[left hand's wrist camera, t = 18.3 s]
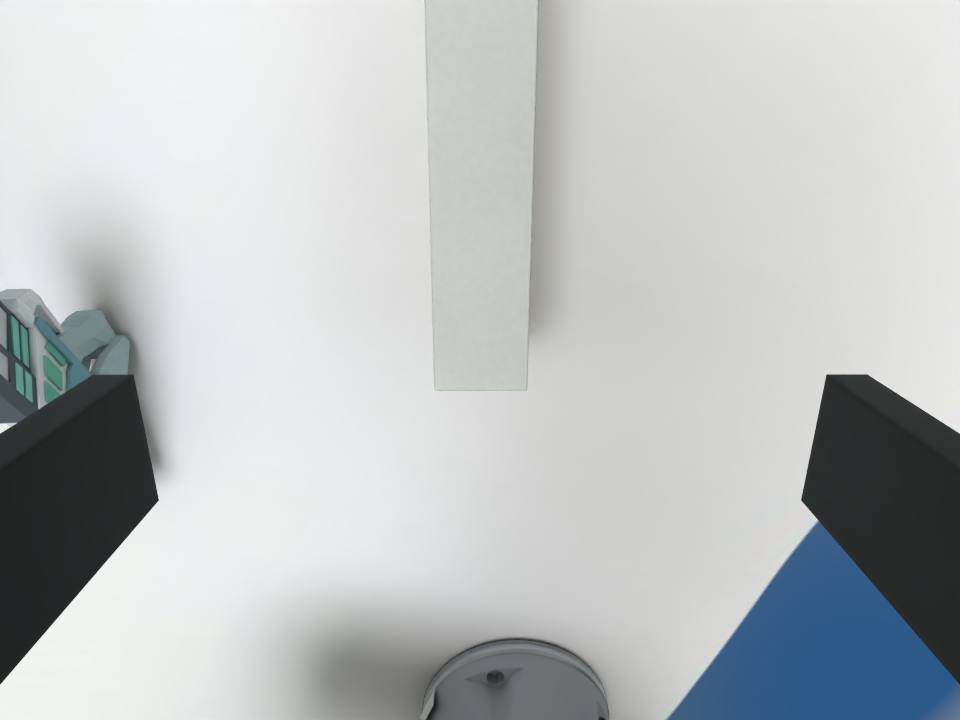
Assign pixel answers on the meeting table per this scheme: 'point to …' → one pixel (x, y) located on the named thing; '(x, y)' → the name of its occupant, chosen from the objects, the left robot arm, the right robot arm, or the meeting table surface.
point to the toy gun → (50, 352)
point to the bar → (481, 188)
